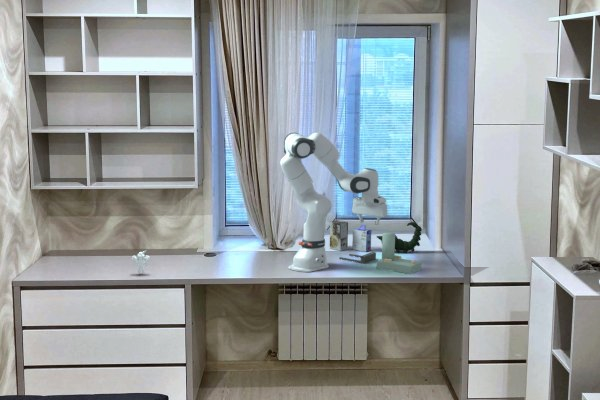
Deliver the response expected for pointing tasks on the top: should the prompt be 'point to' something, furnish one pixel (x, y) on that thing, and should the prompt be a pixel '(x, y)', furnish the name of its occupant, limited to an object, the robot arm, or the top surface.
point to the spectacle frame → (362, 258)
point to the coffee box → (339, 235)
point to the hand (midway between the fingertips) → (369, 223)
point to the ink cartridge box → (361, 239)
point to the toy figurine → (406, 245)
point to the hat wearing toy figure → (141, 262)
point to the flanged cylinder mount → (395, 257)
